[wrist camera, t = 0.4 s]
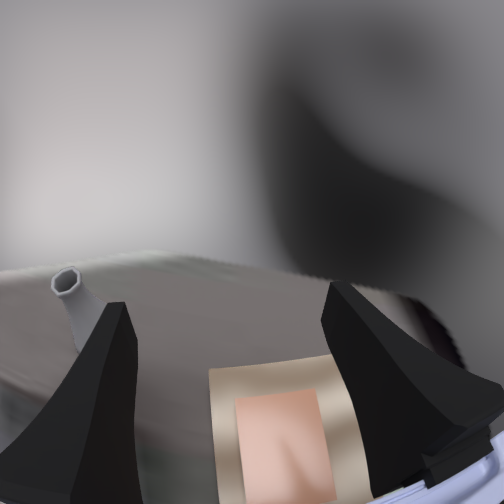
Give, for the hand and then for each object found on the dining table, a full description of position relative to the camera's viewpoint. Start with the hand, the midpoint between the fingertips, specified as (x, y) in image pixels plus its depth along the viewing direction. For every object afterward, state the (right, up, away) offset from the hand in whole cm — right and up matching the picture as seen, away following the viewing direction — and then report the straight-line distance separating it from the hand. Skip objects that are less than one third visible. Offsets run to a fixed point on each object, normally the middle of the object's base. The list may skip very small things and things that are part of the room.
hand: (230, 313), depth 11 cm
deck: (+4, -16, +12) cm, 20 cm away
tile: (+3, -13, +10) cm, 16 cm away
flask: (-15, -7, +21) cm, 27 cm away
